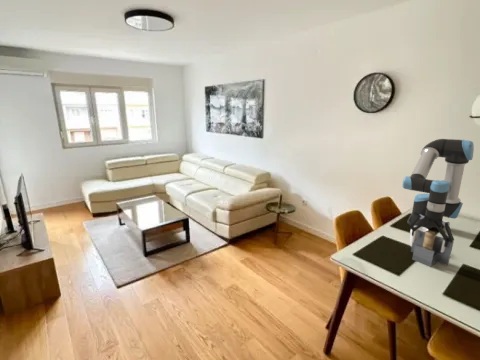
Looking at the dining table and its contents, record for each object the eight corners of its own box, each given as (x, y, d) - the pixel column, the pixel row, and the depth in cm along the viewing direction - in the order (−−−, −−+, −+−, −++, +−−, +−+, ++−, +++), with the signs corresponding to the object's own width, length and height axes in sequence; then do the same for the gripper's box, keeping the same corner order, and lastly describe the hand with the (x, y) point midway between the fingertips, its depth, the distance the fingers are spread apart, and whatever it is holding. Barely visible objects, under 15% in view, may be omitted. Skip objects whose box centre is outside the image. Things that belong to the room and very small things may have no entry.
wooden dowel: (423, 252, 147) (427, 230, 143) (432, 256, 143) (436, 233, 140) (419, 255, 144) (424, 232, 141) (428, 258, 141) (433, 235, 137)
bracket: (411, 250, 155) (416, 229, 152) (448, 264, 141) (453, 241, 137) (403, 255, 149) (407, 233, 146) (440, 271, 135) (446, 246, 131)
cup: (428, 251, 155) (432, 232, 152) (411, 249, 156) (414, 231, 153) (421, 243, 163) (424, 226, 160) (405, 242, 165) (408, 224, 162)
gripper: (406, 204, 145) (400, 239, 150) (462, 219, 125) (452, 258, 130) (412, 202, 149) (406, 235, 155) (467, 215, 129) (458, 254, 135)
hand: (427, 246), depth 143 cm, fingers open, 13 cm apart
